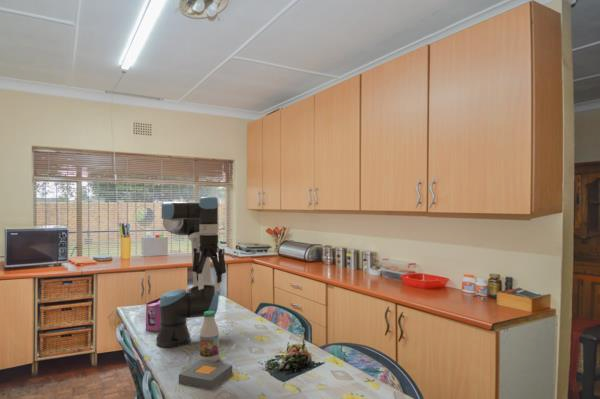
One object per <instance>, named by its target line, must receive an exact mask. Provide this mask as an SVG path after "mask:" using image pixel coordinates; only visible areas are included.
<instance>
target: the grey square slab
mask: <svg viewBox="0 0 600 399" xmlns="http://www.w3.org/2000/svg"><path fill="white" fill-rule="evenodd" d="M204 365H205V366H211V367H217V369H216V370H214V371H213V372H211V373H210V374H209V375H208V374H203V373H197V372H195V371H196V370H198V369H199V368H201V367H202V366H204ZM231 374H233V364H229V363H223V362H218V361H217V362H212V361H206V360H200V359H199V361H197V362H196V363H194V364H193V365H191V366H190V367H188V368H186V369H185V370H183V371H182V372H180V373H178V383H179V384H183V383H184V385H188V384H189V386H193V385H194V387H198V386H199V388H203V387H204V388H203V389H208V390H212V389H213V388H215V387H216V386H218V385H219V384H221V382H222V381H224V380H225V379H226V378H228V377H229V376H230V375H231Z"/></svg>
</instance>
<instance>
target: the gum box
mask: <svg viewBox="0 0 600 399" xmlns="http://www.w3.org/2000/svg"><path fill="white" fill-rule="evenodd" d="M160 298H161V297H159V298H156V299H153V300H151V301H148V302H146V303H145V304H146V305H145V306H146V307H145V330H148V331H155V330H156V331H155V332H157V331H158V332H159V329H160Z"/></svg>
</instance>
